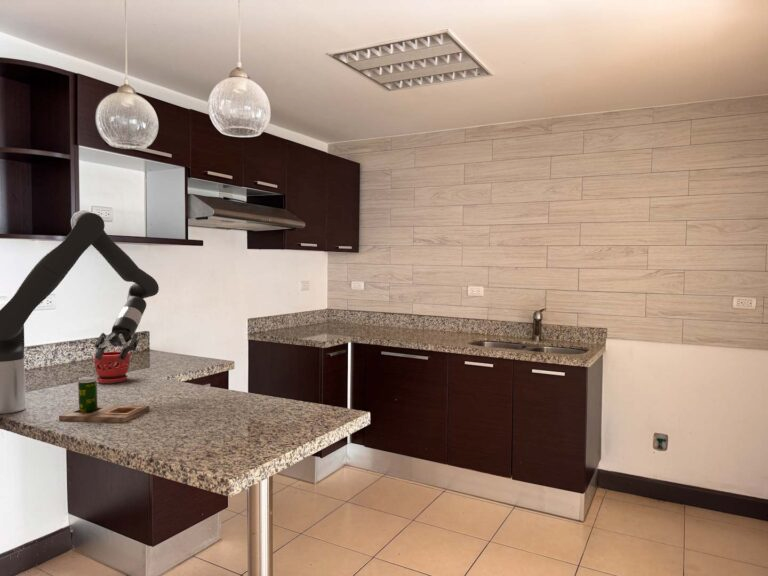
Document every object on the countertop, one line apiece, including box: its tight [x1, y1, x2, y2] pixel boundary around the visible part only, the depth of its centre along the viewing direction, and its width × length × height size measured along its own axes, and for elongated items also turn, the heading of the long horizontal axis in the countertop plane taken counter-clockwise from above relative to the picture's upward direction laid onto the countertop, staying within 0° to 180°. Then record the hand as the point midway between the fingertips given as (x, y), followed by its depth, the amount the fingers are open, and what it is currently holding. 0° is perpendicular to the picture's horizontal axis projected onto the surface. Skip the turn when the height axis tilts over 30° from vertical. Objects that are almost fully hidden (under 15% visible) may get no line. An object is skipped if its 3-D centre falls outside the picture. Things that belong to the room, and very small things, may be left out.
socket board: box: [58, 403, 150, 423], centre depth 178 cm, size 22×14×2 cm, turn 83°
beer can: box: [77, 376, 99, 413], centre depth 179 cm, size 5×5×12 cm
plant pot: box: [93, 351, 131, 384], centre depth 229 cm, size 13×13×12 cm
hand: (109, 359), depth 190 cm, fingers open, 8 cm apart
